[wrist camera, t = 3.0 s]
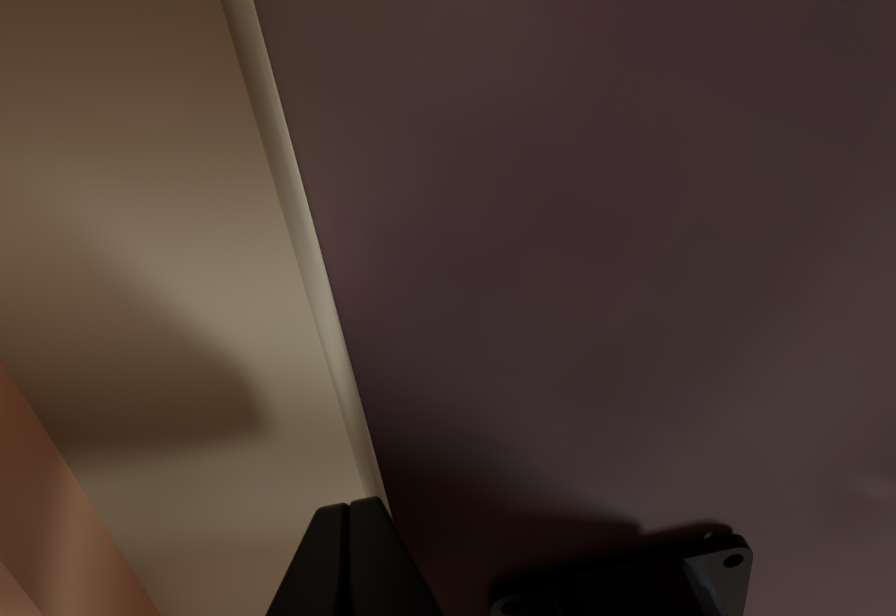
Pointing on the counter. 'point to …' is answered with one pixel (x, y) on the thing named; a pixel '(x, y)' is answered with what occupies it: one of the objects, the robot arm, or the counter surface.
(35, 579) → the tile
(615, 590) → the robot arm
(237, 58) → the board
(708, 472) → the counter surface
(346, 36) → the counter surface
